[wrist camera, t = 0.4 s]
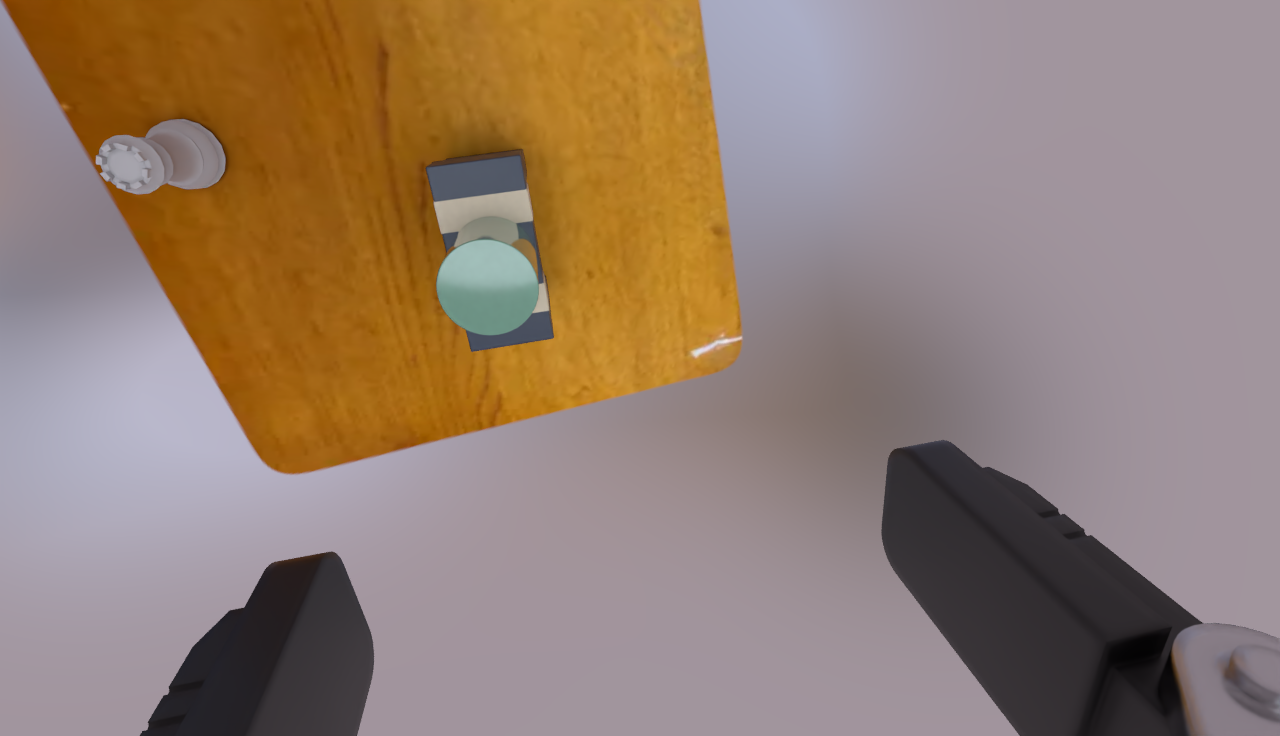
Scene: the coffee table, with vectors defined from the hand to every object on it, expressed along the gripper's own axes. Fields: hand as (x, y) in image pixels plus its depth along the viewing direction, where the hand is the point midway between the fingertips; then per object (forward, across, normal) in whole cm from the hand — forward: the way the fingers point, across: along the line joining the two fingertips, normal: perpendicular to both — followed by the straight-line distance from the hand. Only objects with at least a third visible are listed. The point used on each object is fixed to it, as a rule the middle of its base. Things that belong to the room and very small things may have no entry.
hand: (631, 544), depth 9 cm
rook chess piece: (+42, +23, -4) cm, 48 cm away
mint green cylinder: (+32, +4, +3) cm, 33 cm away
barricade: (+41, +4, +3) cm, 42 cm away
